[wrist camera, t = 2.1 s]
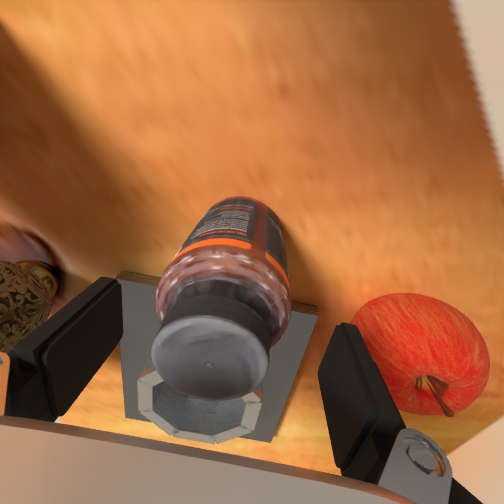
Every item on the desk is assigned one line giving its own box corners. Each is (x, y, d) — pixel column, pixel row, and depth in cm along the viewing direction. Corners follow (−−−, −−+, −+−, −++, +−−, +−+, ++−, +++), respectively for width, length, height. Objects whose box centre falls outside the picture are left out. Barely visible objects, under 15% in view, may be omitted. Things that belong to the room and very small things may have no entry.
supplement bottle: (184, 223, 18) (78, 339, 8) (252, 176, 17) (225, 250, 6) (232, 282, 20) (195, 436, 10) (298, 246, 19) (332, 388, 8)
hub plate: (122, 270, 20) (89, 302, 17) (315, 306, 21) (326, 345, 17) (130, 406, 28) (109, 449, 25) (270, 431, 29) (270, 476, 25)
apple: (463, 303, 20) (575, 402, 13) (389, 363, 23) (444, 469, 16) (385, 255, 18) (459, 335, 11) (318, 326, 22) (342, 423, 14)
